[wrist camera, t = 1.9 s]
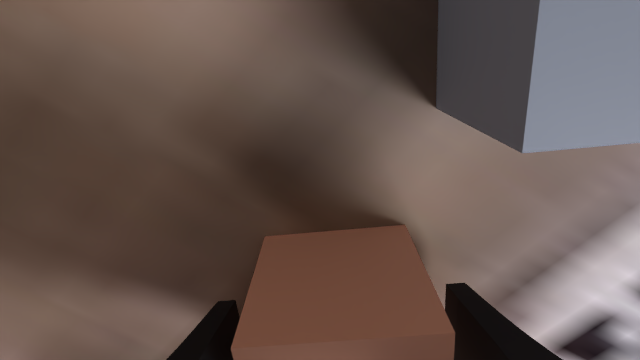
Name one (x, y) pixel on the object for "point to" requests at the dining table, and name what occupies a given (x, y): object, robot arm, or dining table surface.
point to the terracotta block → (342, 300)
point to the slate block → (542, 71)
